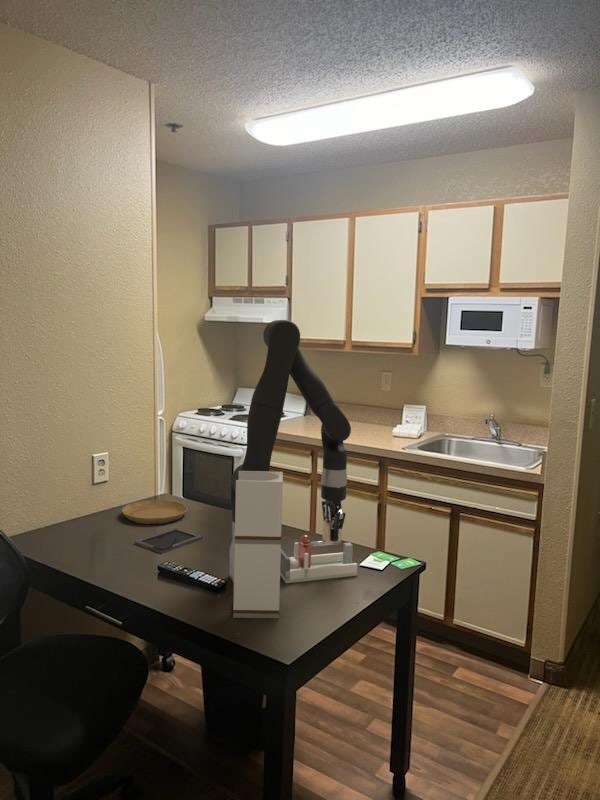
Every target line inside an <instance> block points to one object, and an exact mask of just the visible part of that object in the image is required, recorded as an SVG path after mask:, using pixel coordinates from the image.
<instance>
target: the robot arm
mask: <svg viewBox="0 0 600 800" xmlns="http://www.w3.org/2000/svg"><path fill="white" fill-rule="evenodd" d="M262 336H263V337H262V338H263V342H264V344H265V346H266V347H267V352H266V353H267V354H266V360H265V364H264V368H263V371H262V374H261V375H260V377H259V380H258V382H257V384H256V386H255V388H254V391H253V394H252V397H251V400H250V404H249V410H248V414H247V421H246V426H247V427H246V450H245V454H244V458H243V463H242V464H240V465H238V466H237V467H236V468H235V469H234V470H233V472H232V475H231V480H230V484H231V485H230V509H231V516H232V517H231V544H230V545H229V568H228V570H229V573H228V574H229V578H230V580H231V581H232V583H233V584H234V554H235V504H236V480H238V478H239V471H270V470H271V469H270V467H271V461H272V455H273V450H274V447H275V443H276V441H277V440H276V439H277V436H278V432H279V428H280V423H281V421H282V420H281V419H282V416H283V411H284V406H285V400H286V395H287V390H288V385H289V379H290V377H291V379H292V381H294V383H295V385H296V387H297V389H298V391H299V392H300V394H301V396H302V397H303V399H304V401H305V402H306V404H307V405H308V408H309V409H310V410H311V412H312V413H313V414H314V415H315V416H316V417H317V418H318V419H319V421H320V422H321V427H320V436H321V437H320V438H321V444H322V450H323V454H322V455H323V456H322V469H321V471H322V472H321V480H320V481H321V482H320V484H321V485H320V486H321V487H320V488H321V489H320V498H322V499H323V500H322V501H321V511H322V518H323V520H326V519H329V521H331V541H332V542H334V541H338V532H339V529H342V530H343V527H344V523H345V519H346V512H345V511H342V509H343V507H342V501H344V500H346V499H347V489H348V487H347V485H348V484H347V483H348V473H347V472H348V471H347V465H348V464H347V463H348V462H347V461H348V454H347V450H346V448H345V447H344V442H345V441H346V440H348V439H349V437H350V435H351V432H352V427H351V423H350V422H349V420H348V418H347V417H346V415H345V414H344V413H343V411H342V410H341V409H340V408H339V406H338V405H337V404H336V402H335V400H334V399H333V397H332V395H331V394H330V392H329V390H328V389H327V387H326V385H325V384H324V382H323V380H322V379H321V378H320V376H319V375H318V374H317V373H316V372H315V371H314V369H313V368H312V367H311V365H310V364H309V363H308V361H307V360H306V359H305V357H304V355H303V354H302V352H301V350H300V348H299V346H300V342H301V331H300V329H299V326H297V324H296V323H295V322H293V321H291V320H290V319H289V320H288V319H277V320H276V319H275V320H272V321H270V322H269V323H267V325H266V326H265V328H264V330H263V335H262ZM323 520H322V521H323Z"/></svg>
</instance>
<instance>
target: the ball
mask: <svg viewBox="0 0 600 800" xmlns="http://www.w3.org/2000/svg"><path fill="white" fill-rule="evenodd" d="M299 568H300V562H299V561H298V560H297V559H295V558H292V559H290V570H291V569H299Z"/></svg>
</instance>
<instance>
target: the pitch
mask: <svg viewBox="0 0 600 800" xmlns="http://www.w3.org/2000/svg"><path fill="white" fill-rule="evenodd" d="M293 547H294V548H293V549H294V550H293V556H291V557H289V556H288V555H287V553H286V552H285V551H284V550H283V548H281V561H280V578H282V580H283V581H284V583H286V584H290V583H292V584H293V583H299V582H300V583H301V582H309V581H318V580H319V581H320V580H327V579H338V578H345V577H346V578H347V577H354V576H356V577H357V575H358V563H356V562H354V563H353V550H354V549H353V548H354V545H353V544H352V543H351V542H349V541H348V542H343V549H342V550H343V551H342V552H334V553H333V552H331V553H323V554H311V565H310V568H308V555H309V554H308V553H304V568H301V567H300V568H299V569H291V570H290V559H292V558H295V559H297V560H298V561H299V542H294V546H293Z"/></svg>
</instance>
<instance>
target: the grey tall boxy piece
mask: <svg viewBox="0 0 600 800" xmlns="http://www.w3.org/2000/svg"><path fill="white" fill-rule="evenodd" d="M283 473H284V472H283V471H270V470H269V471H239V478H238V480H236V504H235V554H234V583H233V609H232V611H233V612H232V613H233V614H232V618H235V619H236V618H237V619H238V618H241V619H242V618H243V619H279V618H280V596H281V595H280V593H281V592H280V591H281V590H280V589H281V588H280V587H281V576H280V561H281V549H282V522H283V521H282V520H283V491H284V490H283V487H284V485H283V484H284V479H283V478H284V476H283V475H284V474H283Z"/></svg>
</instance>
